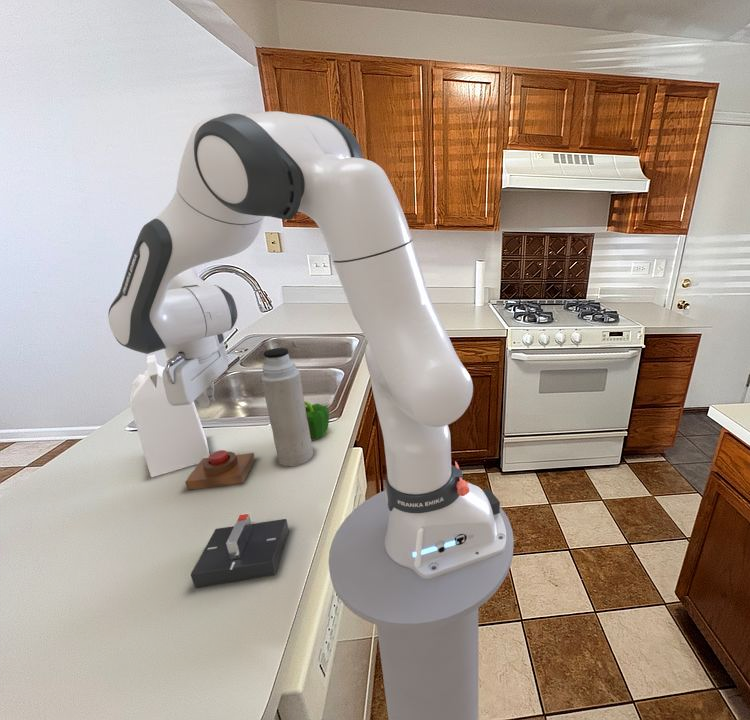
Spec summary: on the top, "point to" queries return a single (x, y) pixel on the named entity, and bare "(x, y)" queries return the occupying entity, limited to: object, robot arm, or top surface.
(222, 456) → the button
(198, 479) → the button block
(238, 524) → the tap knob
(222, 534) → the tap base
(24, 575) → the top surface
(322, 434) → the bell pepper
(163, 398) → the milk
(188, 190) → the robot arm
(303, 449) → the thermos bottle
